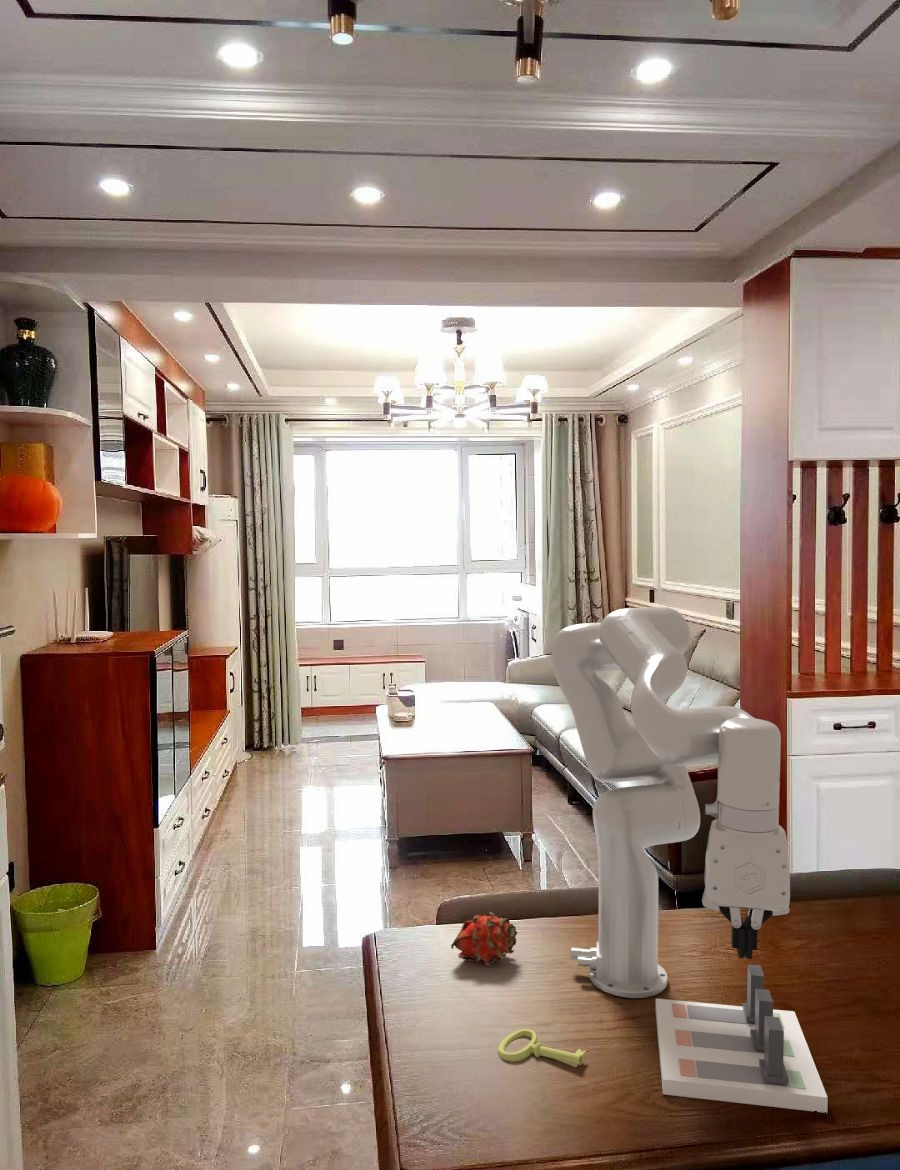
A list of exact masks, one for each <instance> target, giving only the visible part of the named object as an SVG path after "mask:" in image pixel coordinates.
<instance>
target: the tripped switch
mask: <svg viewBox="0 0 900 1170" xmlns="http://www.w3.org/2000/svg"><path fill="white" fill-rule="evenodd" d="M783 1054H784V1030H783V1027H782V1024H781V1021H780V1019H779V1017H771V1016H765V1025H764V1059H759V1067H760V1071H761V1074H762V1078H763V1081H764V1082H771V1083H781V1084H788V1075H787V1072H786V1069H785V1066H784V1063H783Z"/></svg>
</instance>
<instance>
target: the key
mask: <svg viewBox="0 0 900 1170" xmlns="http://www.w3.org/2000/svg"><path fill="white" fill-rule="evenodd" d="M520 1037H527V1038H530V1039H531V1040H530V1041H529V1042H528V1044H527V1045H525V1047H523V1048H522V1049H520V1050H518V1051H515V1052H508V1051H506V1048H507V1046H508V1045H509V1044H510V1043H511V1042H513V1041H514V1040H515V1039H518V1038H520ZM586 1052H587V1051H586V1050H582V1049H580V1048H578V1049H577V1050H576V1051H575V1052H569V1051H566V1050H560V1049H555V1048H551V1047H547V1046H543V1044H542V1043H541V1042H538V1036H537V1033H536V1032H535V1031H534V1030H532V1029H529V1028H521V1029H518V1030H515V1031H513V1032H511V1033H508V1035H507V1036H505V1038H503V1039H502V1040H501V1041H500V1043H499V1045H498V1048H497V1053H498V1056H499V1057H500V1058H501V1059H503V1060H504V1061H506V1062H507V1061H508V1062H519V1061H523V1060H525V1059H526V1058H528V1057H530V1055H531V1054H532V1055H533V1054H534V1056H535V1057H536V1058H539V1057H540V1056H541V1057H544V1058H550V1059H554V1060H558V1061H563V1062H567V1063H570V1064H574V1065H575V1064H576V1065H580V1066H581V1065H582V1063H583V1058H584V1057H585V1056H586V1054H587V1053H586Z"/></svg>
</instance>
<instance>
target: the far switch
mask: <svg viewBox="0 0 900 1170" xmlns="http://www.w3.org/2000/svg"><path fill="white" fill-rule="evenodd" d="M746 977H747V978H746V979H747V980H746V981H747V984H746V985H747V987H746V988H747V991H746V993H747V995H746V997H747V998H746V999H747V1000H746V1002H742V1007H743V1011H744V1015H745V1019H746V1022H755V989H765V975H764V972H763V969H762V966H761V965H759V964H747V976H746Z"/></svg>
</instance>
